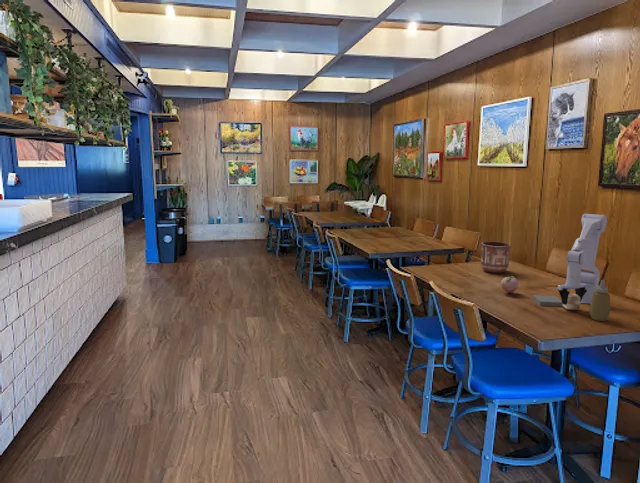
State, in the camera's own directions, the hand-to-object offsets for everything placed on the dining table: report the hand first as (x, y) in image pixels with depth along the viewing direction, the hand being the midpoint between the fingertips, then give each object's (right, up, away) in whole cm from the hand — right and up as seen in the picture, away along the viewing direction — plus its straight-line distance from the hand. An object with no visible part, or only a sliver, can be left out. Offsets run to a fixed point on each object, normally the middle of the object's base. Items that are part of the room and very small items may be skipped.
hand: (571, 303), depth 219 cm
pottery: (-8, +10, +75) cm, 76 cm away
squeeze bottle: (+5, -5, -13) cm, 15 cm away
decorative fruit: (-19, +2, +27) cm, 33 cm away
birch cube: (0, -2, 0) cm, 2 cm away
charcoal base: (-6, -1, +11) cm, 13 cm away
